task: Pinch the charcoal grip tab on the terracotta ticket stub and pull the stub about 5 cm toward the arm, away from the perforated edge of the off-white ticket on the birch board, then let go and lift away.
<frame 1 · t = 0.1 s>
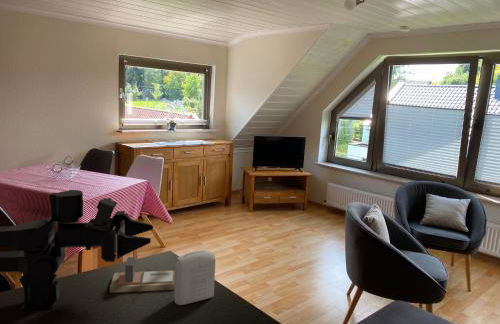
hand: (151, 233, 92), 17 cm above the table, tool horizontal, fingers open, 9 cm apart
ticket board: (143, 283, 101), on the table
stub: (130, 269, 100), point 4 cm above the table, slide at 0.0 cm
photo printer: (194, 299, 95), on the table
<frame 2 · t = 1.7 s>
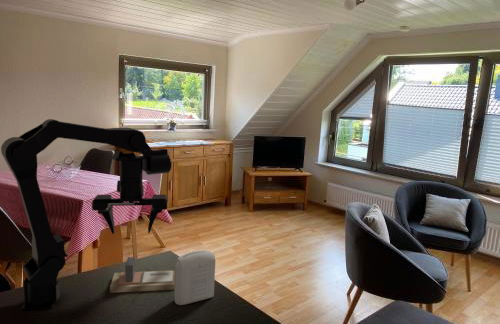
hand: (131, 232, 102), 13 cm above the table, tool pointing down, fingers open, 9 cm apart
nothing on the table moved.
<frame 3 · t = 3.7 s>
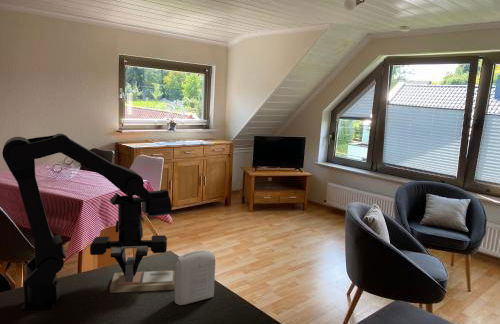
hand: (130, 275, 100), 3 cm above the table, tool pointing down, fingers closed on stub, 2 cm apart
stub: (130, 269, 100), point 4 cm above the table, slide at 0.0 cm, touching gripper
everything else where it was.
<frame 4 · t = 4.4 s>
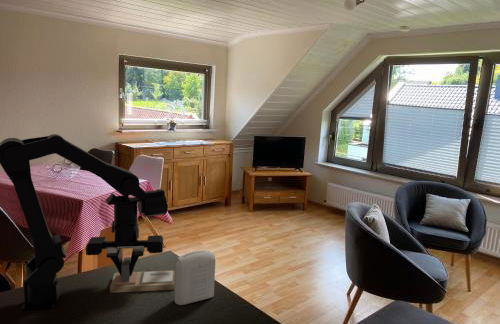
hand: (126, 275, 100), 3 cm above the table, tool pointing down, fingers closed on stub, 2 cm apart
stub: (126, 270, 100), point 4 cm above the table, slide at 1.0 cm, touching gripper
everything else where it was.
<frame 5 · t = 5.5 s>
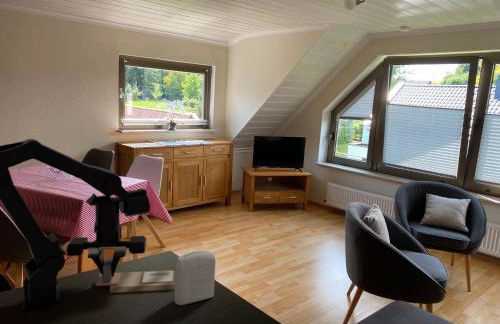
hand: (108, 276, 99), 2 cm above the table, tool pointing down, fingers closed on stub, 2 cm apart
stub: (108, 270, 99), point 4 cm above the table, slide at 5.4 cm, touching gripper
everything else where it was.
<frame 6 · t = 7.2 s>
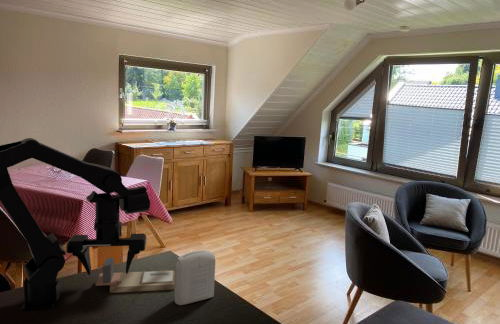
hand: (108, 273, 99), 3 cm above the table, tool pointing down, fingers open, 9 cm apart
stub: (108, 270, 99), point 4 cm above the table, slide at 5.5 cm
everything else where it was.
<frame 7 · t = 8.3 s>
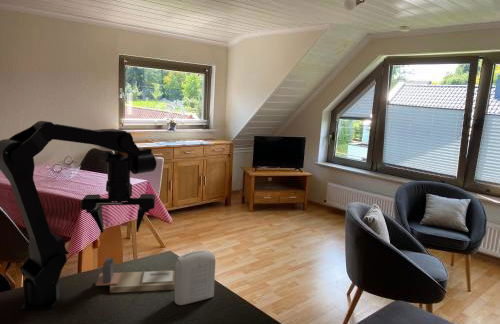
hand: (120, 231, 104), 12 cm above the table, tool pointing down, fingers open, 9 cm apart
nothing on the table moved.
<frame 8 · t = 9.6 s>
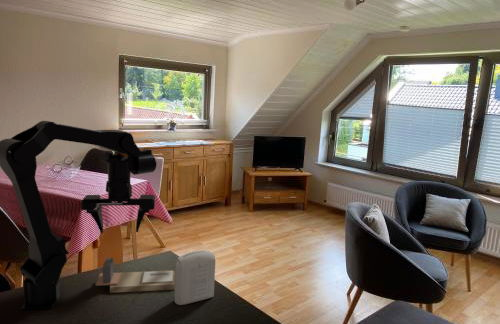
hand: (119, 232, 105), 12 cm above the table, tool pointing down, fingers open, 9 cm apart
nothing on the table moved.
at the end: stub slide at 5.5 cm; the gripper is holding nothing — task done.
